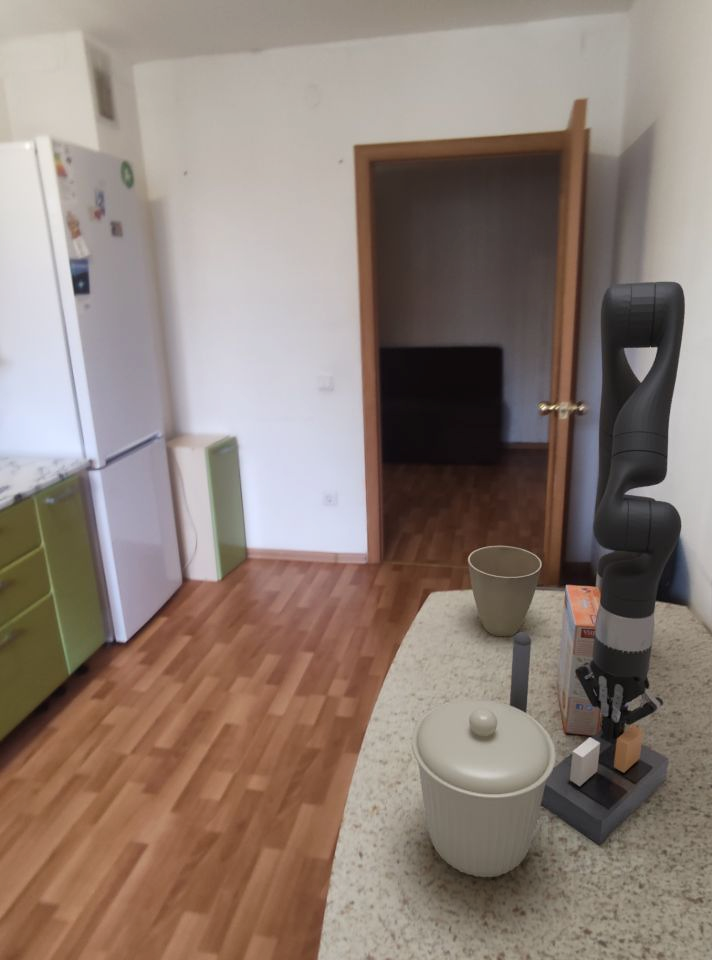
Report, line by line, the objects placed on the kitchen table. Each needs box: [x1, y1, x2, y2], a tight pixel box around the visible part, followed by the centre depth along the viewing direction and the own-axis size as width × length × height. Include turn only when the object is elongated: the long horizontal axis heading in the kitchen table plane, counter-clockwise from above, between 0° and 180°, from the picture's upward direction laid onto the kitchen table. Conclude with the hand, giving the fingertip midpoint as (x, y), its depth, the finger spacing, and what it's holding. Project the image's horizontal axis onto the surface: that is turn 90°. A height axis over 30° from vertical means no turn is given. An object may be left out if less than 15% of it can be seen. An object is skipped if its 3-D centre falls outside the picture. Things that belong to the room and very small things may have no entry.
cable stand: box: [509, 631, 532, 713], centre depth 96 cm, size 7×7×25 cm
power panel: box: [541, 729, 669, 846], centre depth 97 cm, size 18×10×4 cm, turn 129°
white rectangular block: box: [570, 736, 600, 786], centre depth 94 cm, size 4×2×5 cm, turn 129°
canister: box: [411, 698, 557, 878], centre depth 86 cm, size 18×18×21 cm
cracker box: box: [556, 584, 602, 737], centre depth 112 cm, size 14×6×21 cm, turn 168°
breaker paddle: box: [614, 725, 644, 773], centre depth 96 cm, size 4×2×5 cm, turn 129°
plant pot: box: [467, 545, 543, 637], centre depth 139 cm, size 15×15×16 cm
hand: (611, 736), depth 97 cm, fingers closed
